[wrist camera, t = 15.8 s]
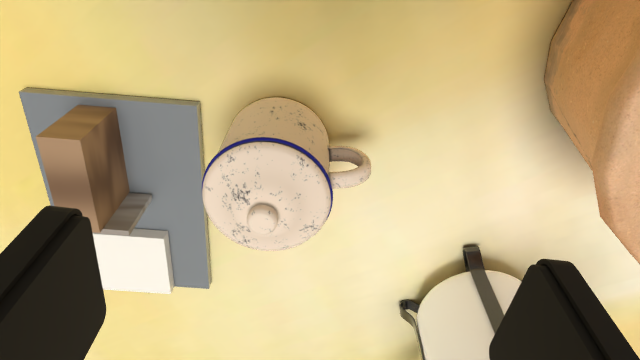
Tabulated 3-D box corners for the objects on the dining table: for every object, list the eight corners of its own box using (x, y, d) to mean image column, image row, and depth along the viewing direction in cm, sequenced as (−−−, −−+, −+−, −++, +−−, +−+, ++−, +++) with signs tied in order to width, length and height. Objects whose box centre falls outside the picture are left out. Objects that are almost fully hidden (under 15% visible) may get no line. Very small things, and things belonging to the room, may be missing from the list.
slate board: (26, 87, 36) (18, 91, 35) (199, 101, 36) (196, 106, 35) (76, 272, 46) (71, 279, 45) (211, 281, 46) (209, 288, 45)
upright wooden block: (52, 102, 35) (5, 134, 30) (141, 109, 35) (109, 142, 30) (74, 191, 40) (36, 233, 34) (152, 198, 40) (126, 239, 35)
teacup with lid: (237, 191, 41) (207, 281, 31) (215, 98, 36) (172, 167, 26) (367, 181, 40) (381, 271, 30) (363, 84, 35) (377, 151, 25)
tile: (86, 233, 40) (100, 289, 44) (163, 238, 41) (170, 293, 44) (93, 224, 41) (105, 279, 45) (168, 230, 42) (174, 284, 45)
